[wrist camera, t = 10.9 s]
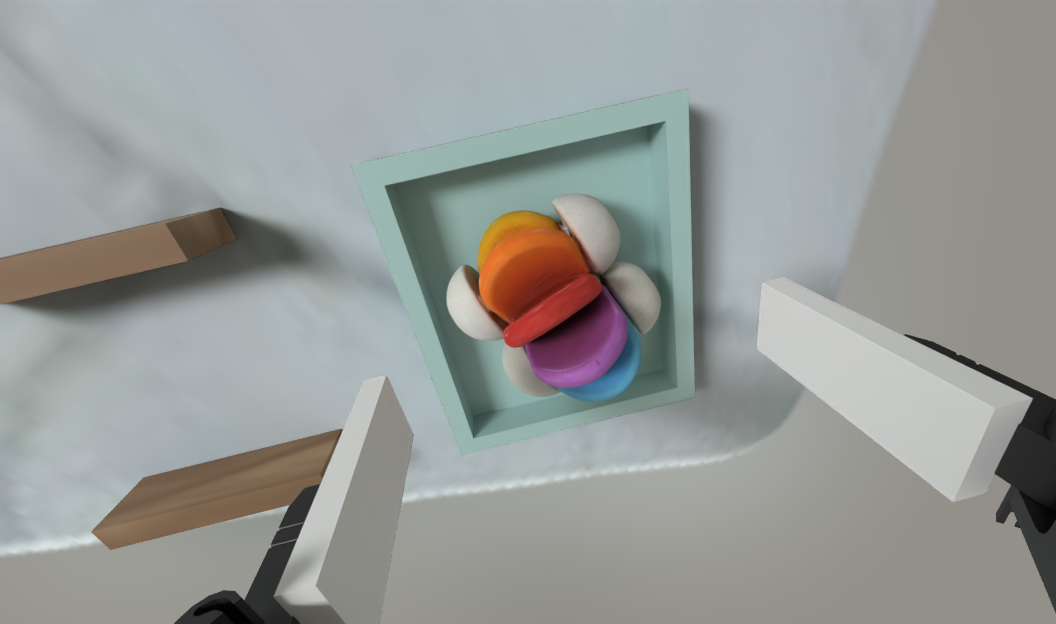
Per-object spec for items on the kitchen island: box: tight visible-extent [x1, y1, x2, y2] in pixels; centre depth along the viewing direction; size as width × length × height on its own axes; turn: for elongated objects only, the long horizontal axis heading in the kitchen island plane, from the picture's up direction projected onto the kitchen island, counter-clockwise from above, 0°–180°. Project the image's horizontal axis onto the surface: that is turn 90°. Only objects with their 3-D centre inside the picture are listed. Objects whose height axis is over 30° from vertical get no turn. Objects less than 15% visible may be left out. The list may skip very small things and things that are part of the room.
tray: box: [351, 89, 695, 456], centre depth 20 cm, size 16×14×2 cm
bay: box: [0, 208, 342, 550], centre depth 19 cm, size 15×12×4 cm
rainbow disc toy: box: [447, 193, 661, 402], centre depth 17 cm, size 8×10×7 cm
